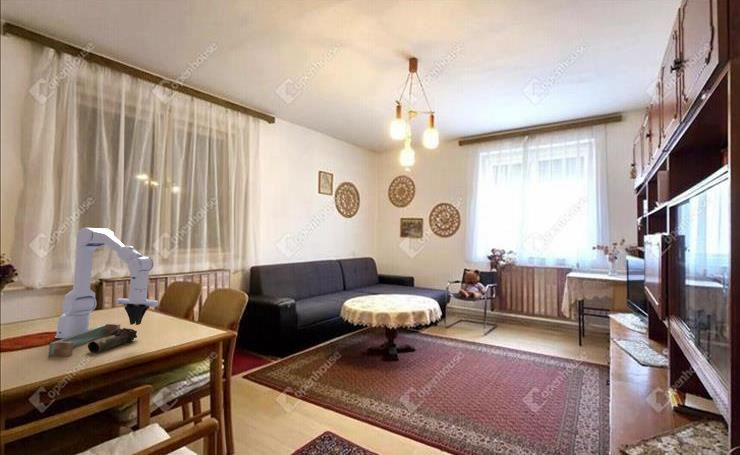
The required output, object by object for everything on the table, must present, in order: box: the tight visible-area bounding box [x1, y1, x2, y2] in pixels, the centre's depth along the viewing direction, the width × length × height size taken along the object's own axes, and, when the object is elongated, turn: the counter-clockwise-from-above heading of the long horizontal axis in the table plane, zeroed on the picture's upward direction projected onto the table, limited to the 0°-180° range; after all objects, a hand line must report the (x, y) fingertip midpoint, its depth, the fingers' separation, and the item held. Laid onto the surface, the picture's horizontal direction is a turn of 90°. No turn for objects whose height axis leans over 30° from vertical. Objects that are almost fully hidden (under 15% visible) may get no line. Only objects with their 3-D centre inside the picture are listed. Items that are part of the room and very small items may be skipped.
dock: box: [48, 322, 121, 357], centre depth 135 cm, size 6×27×4 cm, turn 3°
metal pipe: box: [87, 327, 138, 354], centre depth 136 cm, size 18×7×6 cm, turn 170°
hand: (135, 324), depth 136 cm, fingers closed
